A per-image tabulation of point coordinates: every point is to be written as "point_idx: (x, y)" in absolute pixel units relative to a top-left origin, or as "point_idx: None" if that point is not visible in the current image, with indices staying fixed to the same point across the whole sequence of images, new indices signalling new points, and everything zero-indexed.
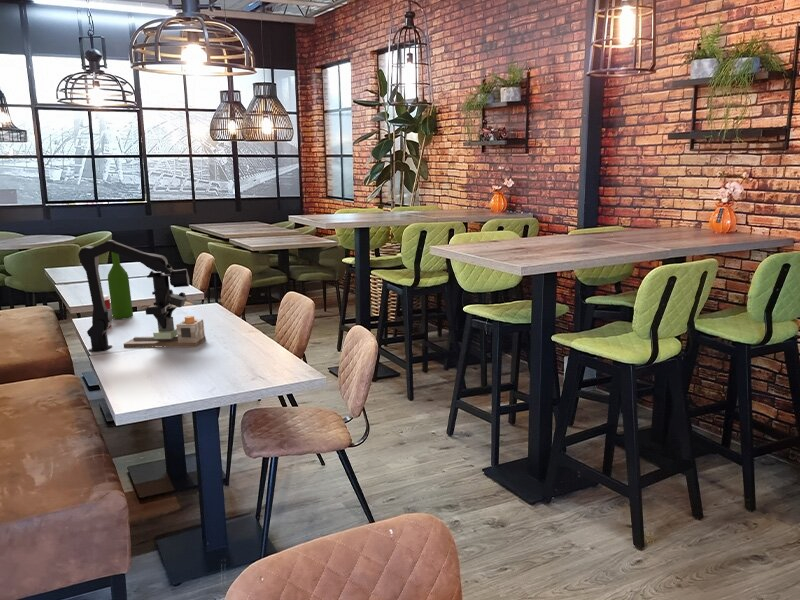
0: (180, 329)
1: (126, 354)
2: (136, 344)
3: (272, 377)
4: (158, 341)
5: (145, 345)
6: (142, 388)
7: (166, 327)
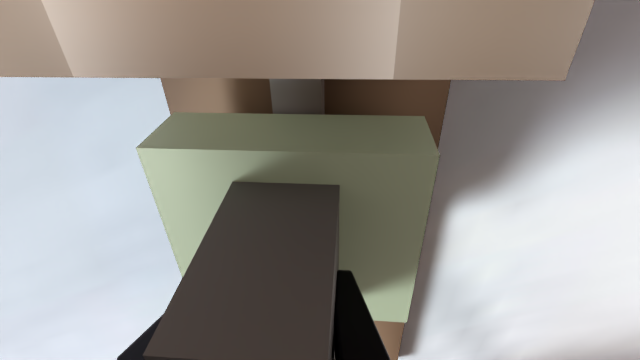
0: None
1: (575, 311)
2: (401, 328)
3: None
4: None
5: None
6: None
7: (337, 266)
